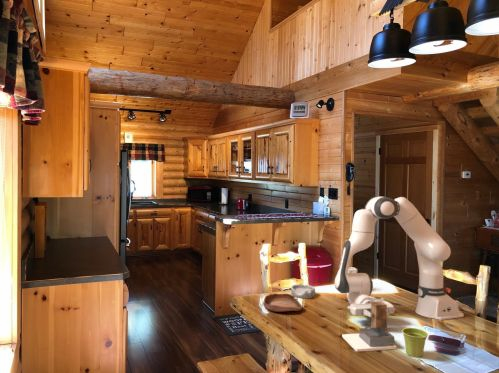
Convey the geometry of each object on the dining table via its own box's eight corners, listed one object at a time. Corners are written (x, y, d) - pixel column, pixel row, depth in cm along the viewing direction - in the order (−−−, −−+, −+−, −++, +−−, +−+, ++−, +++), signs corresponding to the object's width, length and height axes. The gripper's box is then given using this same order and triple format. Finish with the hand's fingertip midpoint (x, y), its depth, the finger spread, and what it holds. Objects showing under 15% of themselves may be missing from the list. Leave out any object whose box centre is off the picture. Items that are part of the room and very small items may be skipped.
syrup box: (348, 293, 239) (348, 269, 239) (343, 291, 245) (344, 267, 244) (357, 293, 241) (357, 268, 240) (352, 290, 246) (352, 266, 246)
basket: (310, 313, 206) (310, 303, 206) (274, 318, 199) (274, 308, 199) (290, 300, 227) (290, 291, 227) (257, 304, 220) (257, 295, 219)
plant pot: (420, 348, 163) (421, 327, 163) (432, 359, 154) (432, 336, 154) (397, 349, 163) (398, 327, 163) (407, 359, 154) (408, 337, 153)
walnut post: (381, 327, 187) (381, 301, 186) (386, 331, 182) (386, 304, 181) (370, 327, 186) (371, 301, 186) (375, 332, 181) (376, 305, 181)
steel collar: (381, 335, 175) (382, 327, 174) (394, 345, 164) (394, 336, 164) (359, 336, 173) (359, 328, 173) (370, 346, 163) (370, 338, 163)
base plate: (379, 334, 178) (379, 332, 178) (396, 349, 163) (396, 346, 163) (342, 336, 175) (342, 334, 175) (356, 351, 161) (356, 349, 160)
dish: (314, 300, 228) (314, 291, 228) (289, 298, 230) (289, 289, 230) (315, 292, 242) (315, 284, 242) (292, 291, 245) (292, 283, 244)
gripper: (345, 299, 195) (357, 309, 181) (385, 297, 198) (400, 306, 184) (345, 312, 195) (357, 323, 181) (385, 310, 198) (400, 320, 184)
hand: (379, 314), depth 183 cm, fingers open, 6 cm apart
